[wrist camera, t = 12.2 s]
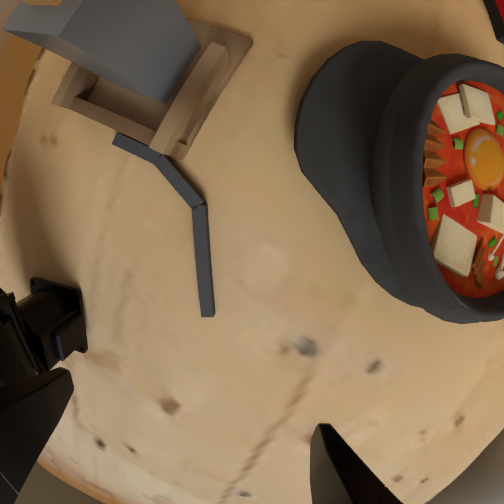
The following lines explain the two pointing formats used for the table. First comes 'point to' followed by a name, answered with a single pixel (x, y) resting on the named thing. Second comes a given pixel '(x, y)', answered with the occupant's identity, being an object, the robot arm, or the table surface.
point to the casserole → (413, 172)
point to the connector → (114, 39)
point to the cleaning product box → (496, 17)
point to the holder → (151, 111)
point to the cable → (198, 215)
